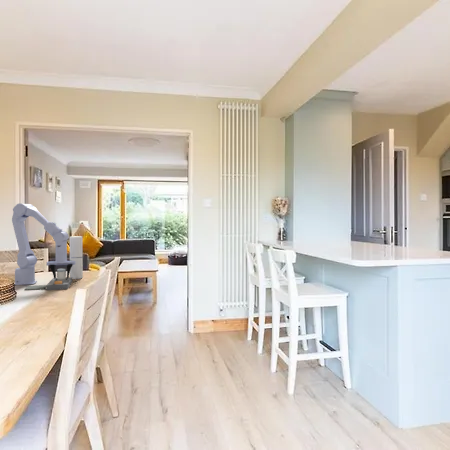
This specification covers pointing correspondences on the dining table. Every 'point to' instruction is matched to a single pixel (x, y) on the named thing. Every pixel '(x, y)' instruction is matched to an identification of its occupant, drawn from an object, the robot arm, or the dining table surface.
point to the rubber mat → (35, 287)
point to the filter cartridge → (61, 274)
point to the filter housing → (64, 284)
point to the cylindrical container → (76, 257)
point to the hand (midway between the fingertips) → (61, 278)
